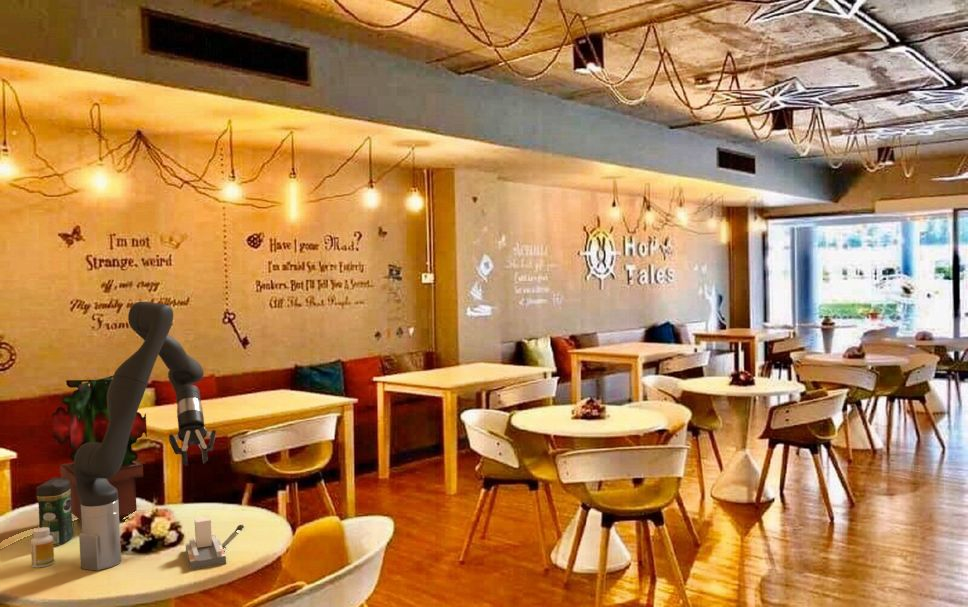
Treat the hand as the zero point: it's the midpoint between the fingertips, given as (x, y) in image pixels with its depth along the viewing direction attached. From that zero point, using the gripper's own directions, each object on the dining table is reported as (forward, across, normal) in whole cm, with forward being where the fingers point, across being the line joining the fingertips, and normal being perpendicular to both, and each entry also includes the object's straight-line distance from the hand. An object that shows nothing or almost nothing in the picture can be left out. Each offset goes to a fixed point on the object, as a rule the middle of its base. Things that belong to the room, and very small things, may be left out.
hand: (195, 462), depth 241 cm
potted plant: (-7, -26, +39) cm, 48 cm away
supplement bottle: (+19, -41, +13) cm, 47 cm away
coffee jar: (+5, -38, +27) cm, 47 cm away
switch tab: (+25, 0, +3) cm, 25 cm away
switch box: (+30, 0, +2) cm, 30 cm away
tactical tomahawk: (+22, +9, +10) cm, 26 cm away
